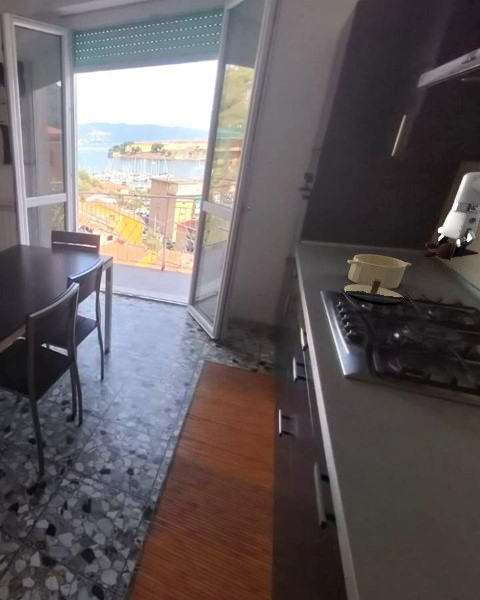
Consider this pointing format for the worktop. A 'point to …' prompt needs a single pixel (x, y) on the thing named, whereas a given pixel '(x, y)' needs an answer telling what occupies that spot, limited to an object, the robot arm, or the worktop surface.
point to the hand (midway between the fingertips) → (448, 253)
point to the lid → (372, 289)
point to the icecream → (444, 251)
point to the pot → (377, 270)
